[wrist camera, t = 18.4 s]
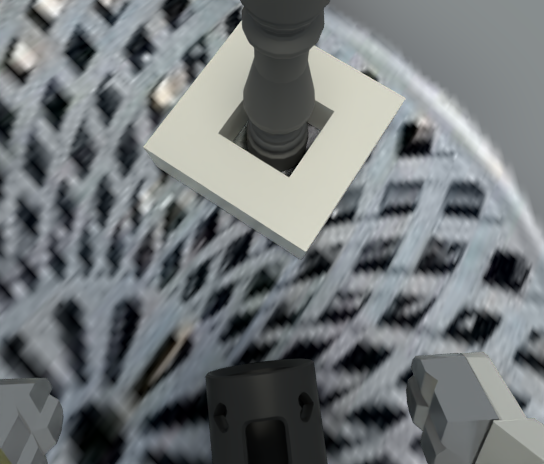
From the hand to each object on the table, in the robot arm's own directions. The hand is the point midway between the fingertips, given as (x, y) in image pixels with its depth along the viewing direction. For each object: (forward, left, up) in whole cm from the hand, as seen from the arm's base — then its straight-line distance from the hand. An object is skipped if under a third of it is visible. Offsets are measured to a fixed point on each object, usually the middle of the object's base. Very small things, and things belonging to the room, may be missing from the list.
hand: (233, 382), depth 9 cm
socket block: (-10, +17, -31) cm, 37 cm away
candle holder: (-10, +17, -32) cm, 37 cm away
